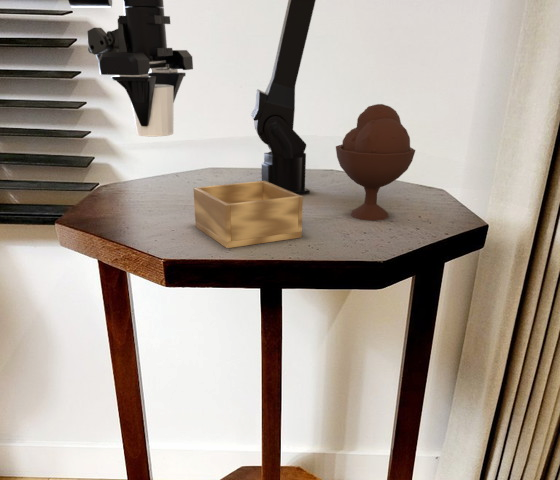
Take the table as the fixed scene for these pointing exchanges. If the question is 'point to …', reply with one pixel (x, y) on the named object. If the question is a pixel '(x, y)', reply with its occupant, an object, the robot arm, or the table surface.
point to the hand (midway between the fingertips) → (154, 123)
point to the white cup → (158, 113)
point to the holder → (248, 213)
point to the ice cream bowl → (375, 156)
